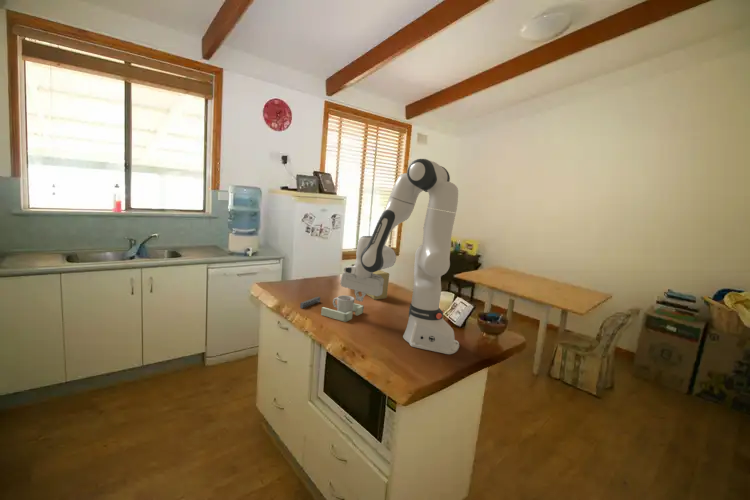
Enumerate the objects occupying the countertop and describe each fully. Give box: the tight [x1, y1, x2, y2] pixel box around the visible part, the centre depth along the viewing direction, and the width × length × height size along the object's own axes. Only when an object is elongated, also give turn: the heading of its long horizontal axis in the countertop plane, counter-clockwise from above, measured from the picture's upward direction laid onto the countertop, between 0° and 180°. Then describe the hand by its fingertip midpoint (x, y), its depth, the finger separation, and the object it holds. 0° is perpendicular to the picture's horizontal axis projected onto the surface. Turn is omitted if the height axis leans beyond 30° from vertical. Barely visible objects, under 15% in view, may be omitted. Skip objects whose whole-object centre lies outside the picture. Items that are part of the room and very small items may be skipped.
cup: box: [332, 295, 356, 313], centre depth 161 cm, size 11×8×8 cm
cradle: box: [320, 302, 365, 323], centre depth 162 cm, size 13×16×4 cm
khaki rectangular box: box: [366, 270, 390, 300], centre depth 199 cm, size 22×10×15 cm, turn 39°
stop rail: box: [300, 296, 321, 310], centre depth 169 cm, size 2×14×2 cm, turn 154°
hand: (359, 300), depth 158 cm, fingers closed
